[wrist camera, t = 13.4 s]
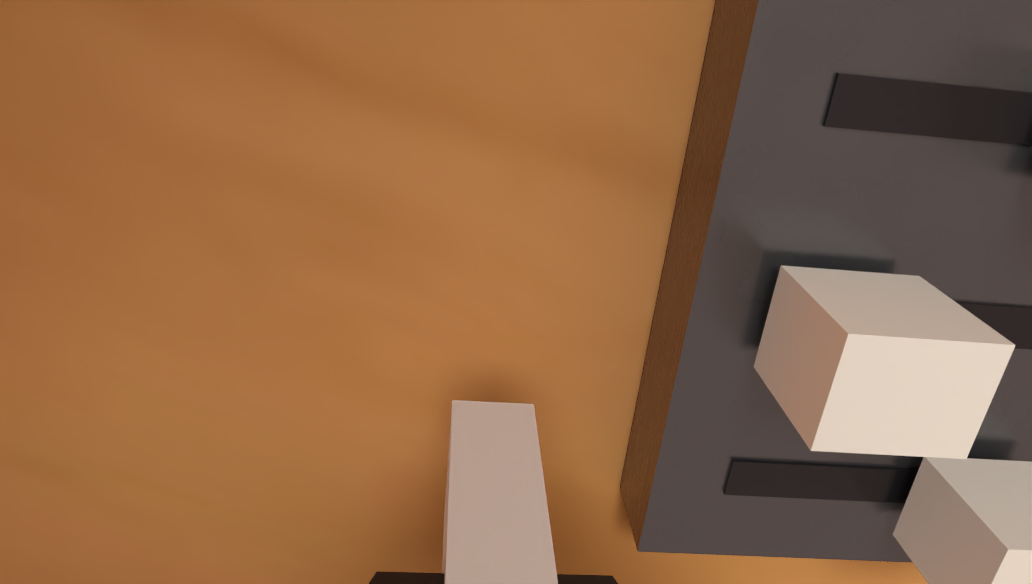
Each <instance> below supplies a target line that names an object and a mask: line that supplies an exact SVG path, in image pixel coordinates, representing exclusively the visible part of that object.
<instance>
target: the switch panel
mask: <svg viewBox="0 0 1032 584" xmlns="http://www.w3.org/2000/svg"><path fill="white" fill-rule="evenodd" d="M781 265H782V266H795V267H808V268H822V269H835V270H848V271H861V272H875V273H888V274H901V275H914V276H920V277H922V278H923V279H924V280H926V281H927V282H928V283H930V284H931V285H933V286H934V287H935V288H937V289H938V290H940V291H941V292H942V293H944V294H945V295H947V296H948V297H949V298H951V299H952V300H954V301H955V302H956V303H958V304H959V305H960V306H962V307H963V308H965V309H966V310H967V311H969V312H970V313H972V314H973V315H974V316H976V317H977V318H979V319H980V320H981V321H983V322H984V323H986V324H987V325H988V326H990V327H991V328H992V329H994V330H995V331H997V332H998V333H999V334H1001V335H1002V336H1004V337H1005V338H1006V339H1008V340H1009V341H1011V342H1012V343H1013V344H1015V348H1014V350H1013V352H1012V355H1011V357H1010V359H1009V362H1008V364H1007V366H1006V369H1005V371H1004V373H1003V376H1002V378H1001V380H1000V382H999V385H998V387H997V389H996V392H995V394H994V396H993V399H992V401H991V403H990V406H989V408H988V410H987V413H986V415H985V417H984V420H983V422H982V424H981V427H980V429H979V431H978V434H977V436H976V438H975V440H974V443H973V445H972V447H971V450H970V452H969V454H968V457H967V458H973V459H991V460H1010V461H1029V462H1032V0H716V3H715V8H714V14H713V19H712V24H711V29H710V34H709V39H708V44H707V49H706V54H705V59H704V64H703V69H702V74H701V79H700V84H699V90H698V95H697V100H696V105H695V110H694V115H693V120H692V125H691V130H690V135H689V140H688V145H687V150H686V155H685V160H684V166H683V171H682V176H681V181H680V186H679V191H678V196H677V201H676V206H675V211H674V216H673V221H672V226H671V231H670V236H669V242H668V247H667V252H666V257H665V262H664V267H663V272H662V277H661V282H660V287H659V292H658V297H657V302H656V307H655V312H654V318H653V323H652V328H651V333H650V338H649V343H648V348H647V353H646V358H645V363H644V368H643V373H642V378H641V383H640V388H639V394H638V399H637V404H636V409H635V414H634V419H633V424H632V429H631V434H630V439H629V444H628V449H627V454H626V459H625V465H624V470H623V475H622V480H621V485H620V488H621V492H622V496H623V499H624V503H625V507H626V510H627V514H628V518H629V521H630V525H631V529H632V532H633V536H634V540H635V543H636V547H637V551H640V552H666V553H691V554H716V555H741V556H766V557H792V558H817V559H842V560H867V561H892V562H912V561H911V559H910V558H909V556H908V555H907V554H906V552H905V551H904V550H903V548H902V547H901V545H900V544H899V543H898V541H897V540H896V538H895V537H894V536H893V532H894V530H895V527H896V525H897V522H898V520H899V517H900V515H901V512H902V510H903V507H904V505H905V503H906V500H907V498H908V495H909V493H910V490H911V488H912V485H913V483H914V480H915V478H916V475H917V473H918V470H919V468H920V465H921V463H922V460H923V458H924V457H917V456H898V455H879V454H860V453H841V452H822V451H810V449H809V448H808V446H807V445H806V443H805V442H804V440H803V439H802V437H801V436H800V434H799V433H798V431H797V430H796V428H795V427H794V426H793V424H792V423H791V421H790V420H789V418H788V417H787V415H786V414H785V412H784V411H783V409H782V408H781V406H780V405H779V403H778V402H777V400H776V399H775V398H774V396H773V395H772V393H771V392H770V390H769V389H768V387H767V386H766V384H765V383H764V381H763V380H762V378H761V377H760V375H759V374H758V372H757V371H756V370H755V368H754V363H755V360H756V356H757V352H758V349H759V345H760V341H761V337H762V334H763V330H764V326H765V322H766V319H767V315H768V311H769V308H770V304H771V300H772V296H773V293H774V289H775V285H776V281H777V278H778V274H779V270H780V267H781Z"/></svg>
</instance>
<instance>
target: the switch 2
mask: <svg viewBox="0 0 1032 584" xmlns="http://www.w3.org/2000/svg"><path fill="white" fill-rule="evenodd" d="M893 536H894V537H895V538H896V540H897V541H898V543H899V544H900V545H901V547H902V548H903V550H904V551H905V552H906V554H907V555H908V556H909V558H910V559H911V561H912V562H913V563H914V565H915V566H916V568H917V569H918V570H919V572H920V573H921V574H922V576H923V577H924V579H925V580H926V581H927V583H928V584H1032V462H1029V461H1010V460H991V459H973V458H967V459H954V458H936V457H924V458H923V460H922V463H921V465H920V468H919V470H918V473H917V475H916V478H915V480H914V483H913V485H912V488H911V490H910V493H909V495H908V498H907V500H906V503H905V505H904V507H903V510H902V512H901V515H900V517H899V520H898V522H897V525H896V527H895V530H894V532H893Z"/></svg>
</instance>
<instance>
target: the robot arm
mask: <svg viewBox="0 0 1032 584" xmlns="http://www.w3.org/2000/svg"><path fill="white" fill-rule="evenodd" d="M369 584H618V583H617V582H616V580H615V579H614V578H613V576H601V575H563V574H557V571H556V564H555V557H554V549H553V542H552V535H551V527H550V520H549V513H548V505H547V498H546V491H545V483H544V476H543V469H542V461H541V454H540V446H539V439H538V432H537V424H536V417H535V410H534V404H524V403H503V402H482V401H461V400H452V411H451V425H450V440H449V454H448V468H447V483H446V497H445V511H444V532H443V555H442V573H408V572H376V574H375V575H374V577H373V578H372V580H371V581H370V582H369Z"/></svg>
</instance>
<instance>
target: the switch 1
mask: <svg viewBox="0 0 1032 584" xmlns="http://www.w3.org/2000/svg"><path fill="white" fill-rule="evenodd" d="M1014 348H1015V344H1013V343H1012V342H1011V341H1009V340H1008V339H1006V338H1005V337H1004V336H1002V335H1001V334H999V333H998V332H997V331H995V330H994V329H992V328H991V327H990V326H988V325H987V324H986V323H984V322H983V321H981V320H980V319H979V318H977V317H976V316H974V315H973V314H972V313H970V312H969V311H967V310H966V309H965V308H963V307H962V306H960V305H959V304H958V303H956V302H955V301H954V300H952V299H951V298H949V297H948V296H947V295H945V294H944V293H942V292H941V291H940V290H938V289H937V288H935V287H934V286H933V285H931V284H930V283H928V282H927V281H926V280H924V279H923V278H922V277H920V276H914V275H901V274H888V273H875V272H861V271H848V270H835V269H822V268H808V267H795V266H782V265H781V267H780V270H779V274H778V278H777V281H776V285H775V289H774V293H773V296H772V300H771V304H770V308H769V311H768V315H767V319H766V322H765V326H764V330H763V334H762V337H761V341H760V345H759V349H758V352H757V356H756V360H755V363H754V368H755V370H756V371H757V372H758V374H759V375H760V377H761V378H762V380H763V381H764V383H765V384H766V386H767V387H768V389H769V390H770V392H771V393H772V395H773V396H774V398H775V399H776V400H777V402H778V403H779V405H780V406H781V408H782V409H783V411H784V412H785V414H786V415H787V417H788V418H789V420H790V421H791V423H792V424H793V426H794V427H795V428H796V430H797V431H798V433H799V434H800V436H801V437H802V439H803V440H804V442H805V443H806V445H807V446H808V448H809V449H810V451H822V452H841V453H860V454H879V455H898V456H917V457H936V458H954V459H967V457H968V454H969V452H970V450H971V447H972V445H973V443H974V440H975V438H976V436H977V434H978V431H979V429H980V427H981V424H982V422H983V420H984V417H985V415H986V413H987V410H988V408H989V406H990V403H991V401H992V399H993V396H994V394H995V392H996V389H997V387H998V385H999V382H1000V380H1001V378H1002V376H1003V373H1004V371H1005V369H1006V366H1007V364H1008V362H1009V359H1010V357H1011V355H1012V352H1013V350H1014Z"/></svg>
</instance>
